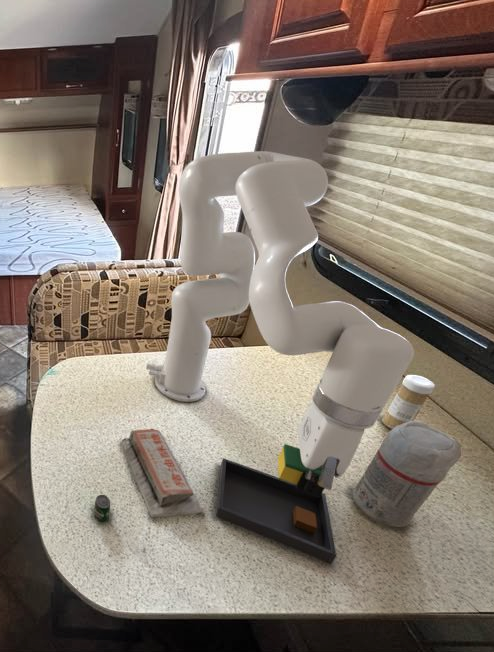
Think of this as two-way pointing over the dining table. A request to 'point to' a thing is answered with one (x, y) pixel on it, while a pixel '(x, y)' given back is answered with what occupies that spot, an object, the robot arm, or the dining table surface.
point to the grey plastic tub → (405, 472)
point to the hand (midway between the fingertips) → (305, 479)
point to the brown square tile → (304, 519)
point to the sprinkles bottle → (408, 400)
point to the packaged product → (159, 475)
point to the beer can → (102, 508)
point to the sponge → (292, 465)
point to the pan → (273, 509)
